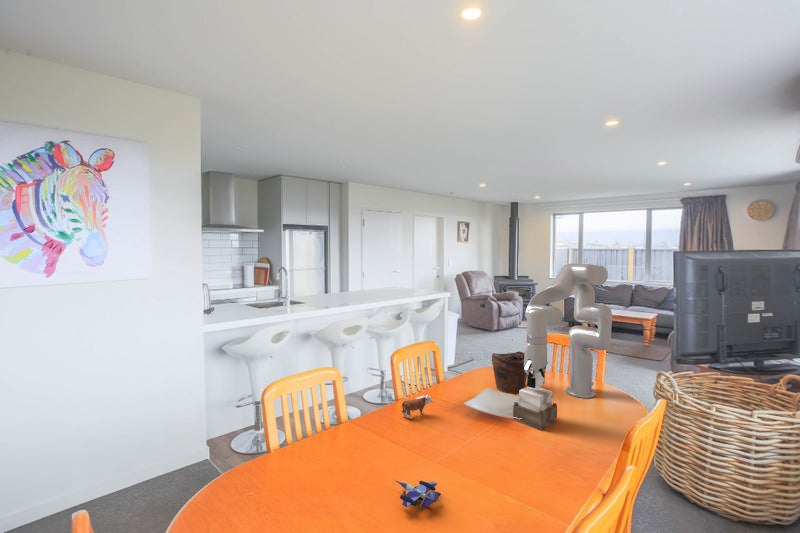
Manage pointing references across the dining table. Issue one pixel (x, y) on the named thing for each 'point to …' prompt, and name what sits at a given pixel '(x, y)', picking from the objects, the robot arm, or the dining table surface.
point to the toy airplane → (419, 493)
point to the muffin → (538, 379)
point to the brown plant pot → (509, 371)
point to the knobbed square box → (535, 408)
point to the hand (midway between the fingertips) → (535, 384)
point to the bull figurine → (415, 405)
